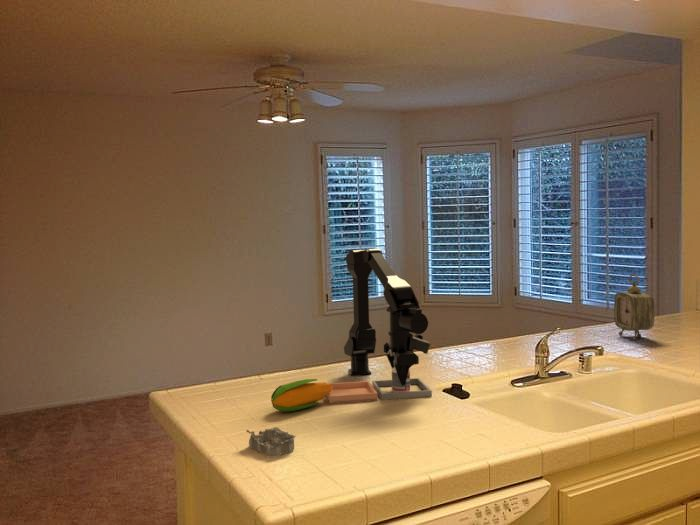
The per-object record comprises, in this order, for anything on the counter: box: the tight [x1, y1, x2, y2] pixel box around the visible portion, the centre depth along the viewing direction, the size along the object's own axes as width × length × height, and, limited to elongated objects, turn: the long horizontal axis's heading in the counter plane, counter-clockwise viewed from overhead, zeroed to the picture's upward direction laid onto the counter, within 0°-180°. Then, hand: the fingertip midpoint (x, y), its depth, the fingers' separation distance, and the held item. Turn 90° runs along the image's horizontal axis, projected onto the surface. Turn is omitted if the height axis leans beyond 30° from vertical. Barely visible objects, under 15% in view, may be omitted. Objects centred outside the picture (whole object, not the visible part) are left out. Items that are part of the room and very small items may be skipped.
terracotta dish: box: [325, 380, 378, 405], centre depth 184 cm, size 13×13×2 cm
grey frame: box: [371, 377, 433, 400], centre depth 188 cm, size 14×14×2 cm
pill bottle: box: [391, 361, 411, 393], centre depth 187 cm, size 5×5×9 cm
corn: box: [270, 378, 333, 413], centre depth 174 cm, size 7×8×20 cm
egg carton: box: [246, 426, 297, 458], centre depth 144 cm, size 11×8×4 cm
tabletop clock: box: [613, 274, 656, 341], centre depth 255 cm, size 14×9×25 cm, turn 6°
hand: (400, 382), depth 188 cm, fingers closed on pill bottle, 5 cm apart
